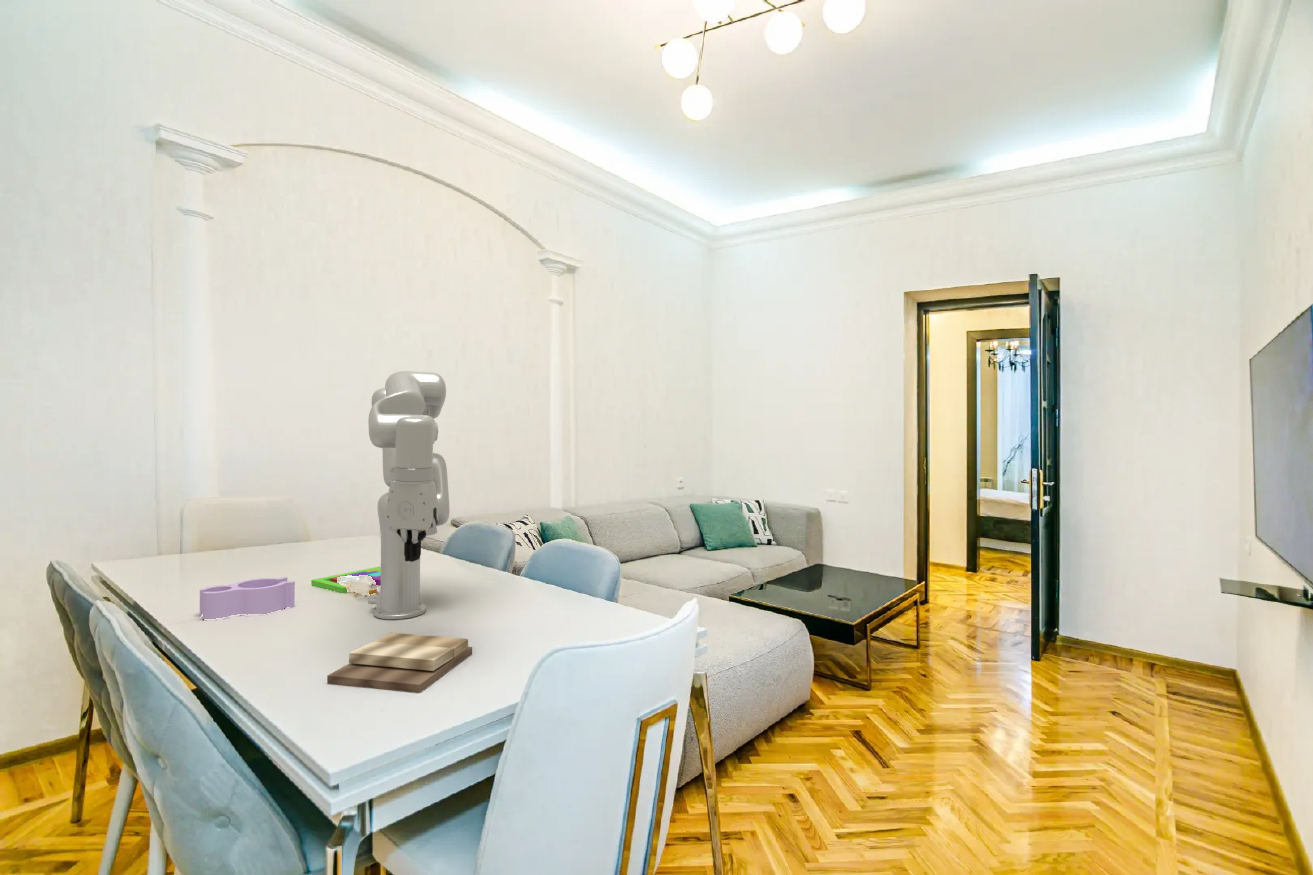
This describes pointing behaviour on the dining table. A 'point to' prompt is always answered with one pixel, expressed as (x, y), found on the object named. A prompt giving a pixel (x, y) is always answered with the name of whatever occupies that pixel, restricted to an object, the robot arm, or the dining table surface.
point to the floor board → (401, 676)
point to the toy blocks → (332, 583)
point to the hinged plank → (401, 655)
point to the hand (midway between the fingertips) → (412, 559)
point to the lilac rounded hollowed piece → (247, 597)
